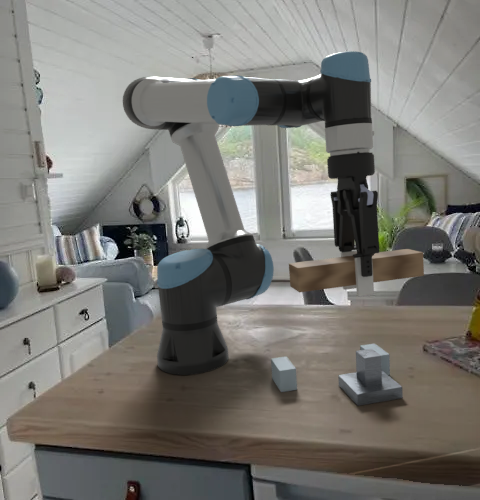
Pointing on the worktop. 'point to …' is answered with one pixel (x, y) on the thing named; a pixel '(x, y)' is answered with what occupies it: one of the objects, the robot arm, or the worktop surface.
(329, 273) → the plank
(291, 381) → the posts
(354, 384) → the fulcrum
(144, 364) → the worktop surface
